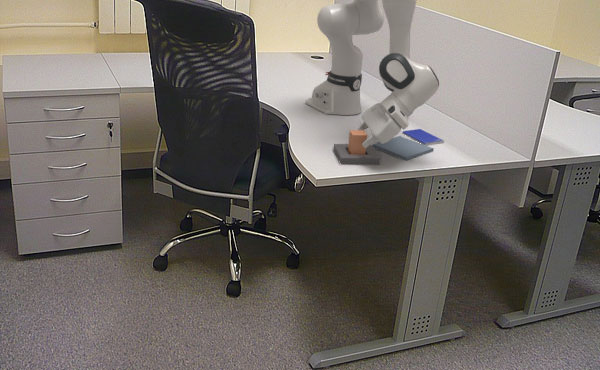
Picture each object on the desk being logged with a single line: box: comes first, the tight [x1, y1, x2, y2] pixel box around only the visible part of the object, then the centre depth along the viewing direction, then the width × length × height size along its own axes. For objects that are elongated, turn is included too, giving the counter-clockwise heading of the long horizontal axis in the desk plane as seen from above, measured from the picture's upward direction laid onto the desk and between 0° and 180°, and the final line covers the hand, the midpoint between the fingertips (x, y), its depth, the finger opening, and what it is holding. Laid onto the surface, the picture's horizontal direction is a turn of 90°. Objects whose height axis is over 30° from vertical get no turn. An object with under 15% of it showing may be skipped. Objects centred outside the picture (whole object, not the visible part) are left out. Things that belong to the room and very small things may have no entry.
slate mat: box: [371, 135, 434, 161], centre depth 210 cm, size 14×14×1 cm
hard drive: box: [401, 128, 445, 146], centre depth 221 cm, size 2×8×12 cm
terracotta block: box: [347, 129, 368, 155], centre depth 200 cm, size 4×4×8 cm
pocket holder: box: [332, 143, 381, 165], centre depth 201 cm, size 12×12×2 cm
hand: (359, 140), depth 199 cm, fingers open, 8 cm apart
